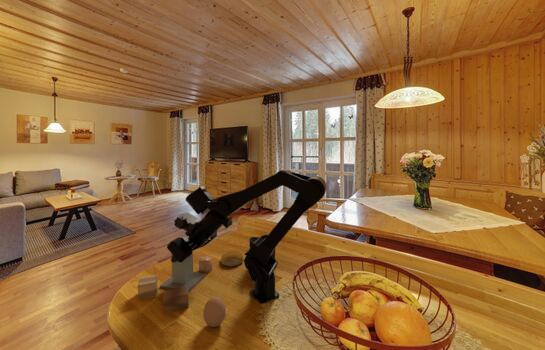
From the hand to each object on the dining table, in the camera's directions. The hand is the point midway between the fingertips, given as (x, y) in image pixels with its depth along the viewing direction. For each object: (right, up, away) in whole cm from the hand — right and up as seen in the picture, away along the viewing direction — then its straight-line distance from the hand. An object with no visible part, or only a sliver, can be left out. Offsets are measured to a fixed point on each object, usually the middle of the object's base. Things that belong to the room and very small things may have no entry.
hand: (179, 256), depth 74 cm
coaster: (+1, -8, 0) cm, 8 cm away
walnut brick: (+4, -9, -12) cm, 15 cm away
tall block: (+1, -7, 0) cm, 8 cm away
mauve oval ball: (+16, -10, -19) cm, 26 cm away
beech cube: (-6, -9, -6) cm, 13 cm away
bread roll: (+15, -7, +14) cm, 21 cm away
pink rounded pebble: (+6, -7, +7) cm, 12 cm away
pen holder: (+26, -7, +10) cm, 29 cm away
